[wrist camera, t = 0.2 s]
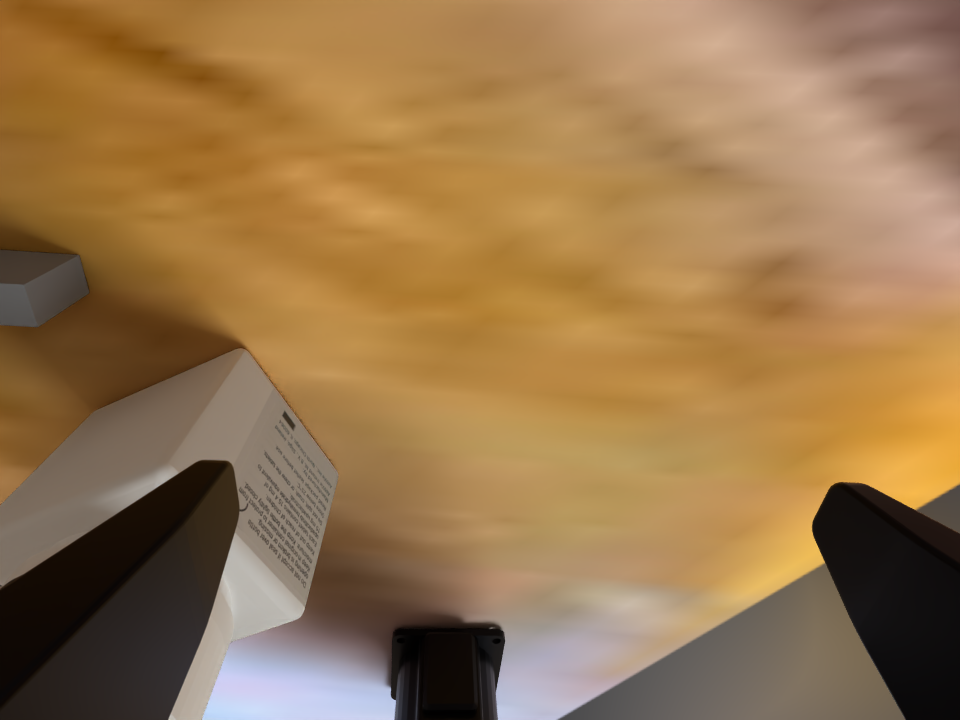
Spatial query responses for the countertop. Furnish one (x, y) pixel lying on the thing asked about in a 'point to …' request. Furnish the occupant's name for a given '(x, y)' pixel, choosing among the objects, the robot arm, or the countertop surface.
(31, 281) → the display bay
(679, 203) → the countertop surface
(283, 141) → the countertop surface
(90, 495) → the container
